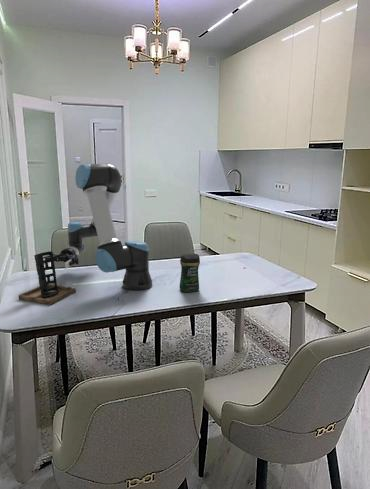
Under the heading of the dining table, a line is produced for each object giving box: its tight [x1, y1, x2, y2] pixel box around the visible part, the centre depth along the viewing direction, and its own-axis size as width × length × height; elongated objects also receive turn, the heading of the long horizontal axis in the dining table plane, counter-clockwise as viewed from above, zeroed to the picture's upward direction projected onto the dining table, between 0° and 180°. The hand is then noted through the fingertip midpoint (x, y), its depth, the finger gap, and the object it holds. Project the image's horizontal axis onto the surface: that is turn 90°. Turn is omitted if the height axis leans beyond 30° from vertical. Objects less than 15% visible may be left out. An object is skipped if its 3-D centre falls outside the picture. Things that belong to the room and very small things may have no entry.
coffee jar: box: [179, 253, 201, 293], centre depth 183 cm, size 10×8×19 cm
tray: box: [17, 283, 77, 306], centre depth 175 cm, size 18×18×2 cm
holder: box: [33, 250, 59, 298], centre depth 173 cm, size 11×8×20 cm
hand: (51, 265), depth 178 cm, fingers open, 13 cm apart
